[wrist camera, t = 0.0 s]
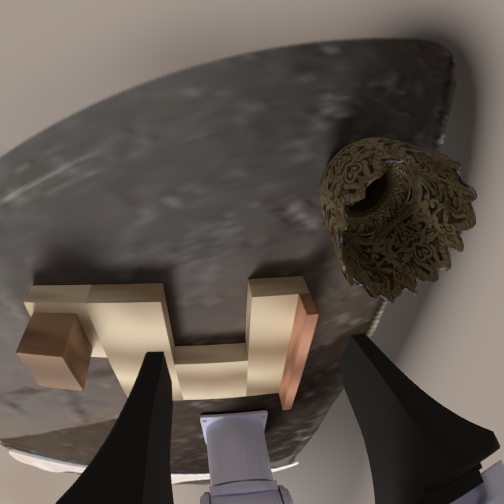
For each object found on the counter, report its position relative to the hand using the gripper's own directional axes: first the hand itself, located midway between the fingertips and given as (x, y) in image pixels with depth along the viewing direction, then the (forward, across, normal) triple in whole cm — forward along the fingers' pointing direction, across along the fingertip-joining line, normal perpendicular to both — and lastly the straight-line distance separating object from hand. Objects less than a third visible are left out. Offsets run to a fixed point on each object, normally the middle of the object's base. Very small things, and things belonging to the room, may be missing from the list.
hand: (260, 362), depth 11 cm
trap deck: (+10, +6, +10) cm, 16 cm away
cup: (+10, -7, -4) cm, 13 cm away
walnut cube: (+8, +14, +7) cm, 17 cm away
